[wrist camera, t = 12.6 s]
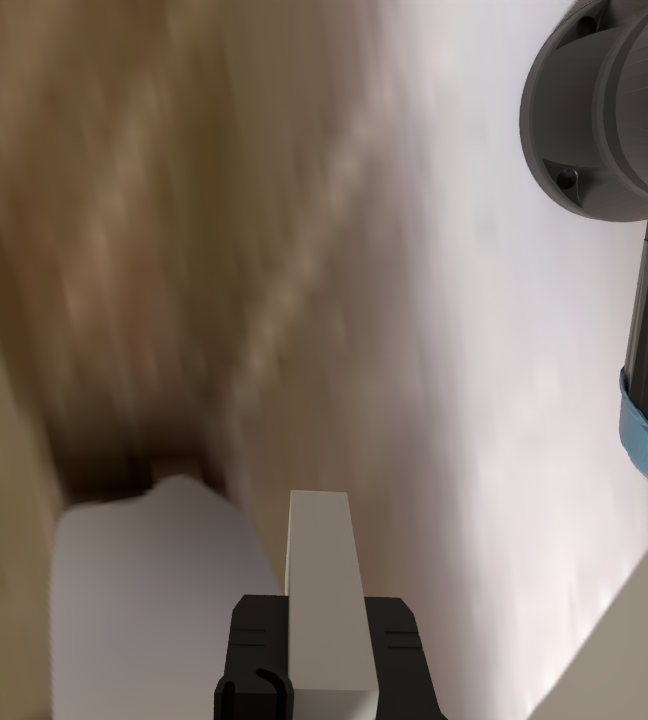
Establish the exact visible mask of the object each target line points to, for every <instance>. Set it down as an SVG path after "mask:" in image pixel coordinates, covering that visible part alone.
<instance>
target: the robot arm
mask: <svg viewBox="0 0 648 720" xmlns="http://www.w3.org/2000/svg"><path fill="white" fill-rule="evenodd" d="M519 127H520V138H521V144H522V149H523V153H524V156H525V159H526V162H527V165H528V167H529V169H530V171H531V173H532V175H533V177H534V178H535V180H536V182H537V183H538V184H539V186H540V187H541V188H542V190H543V191H544V192H545V193H546V194H547V195H548V196H549V197H550V198H551V199H552V200H553V201H555V202H556V203H557V204H559V205H560V206H562V207H563V208H565V209H566V210H568V211H570V212H572V213H575V214H577V215H580V216H583V217H586V218H591V219H596V220H603V221H610V222H634V221H641V220H646V219H648V0H595V1H593V2H592V3H590V4H588V5H586V6H585V7H583V8H581V9H580V10H578V11H577V12H576V13H574V14H573V15H571V16H570V17H569V18H568V19H567V20H566V21H564V22H563V23H562V24H561V25H560V26H559V27H558V28H557V29H556V31H555V32H554V33H553V34H552V35H551V36H550V38H549V39H548V40H547V41H546V43H545V44H544V46H543V47H542V49H541V50H540V52H539V54H538V55H537V57H536V59H535V61H534V63H533V65H532V67H531V69H530V72H529V74H528V77H527V80H526V83H525V86H524V90H523V94H522V99H521V106H520V117H519ZM619 383H620V390H621V393H622V399H621V410H620V420H619V434H620V439H621V443H622V445H623V447H624V448H625V450H626V451H627V452H628V456H629V457H630V459H631V461H632V463H633V464H634V466H635V467H636V468H637V469H638V470H639V471H640V472H641V473H642V474H643V475H644V476H645V477H646V478H647V479H648V222H647V228H646V235H645V239H644V245H643V252H642V258H641V264H640V271H639V277H638V283H637V290H636V296H635V302H634V309H633V315H632V321H631V328H630V334H629V340H628V347H627V353H626V359H625V365H624V366H623V368H622V369H621V372H620V378H619ZM418 633H419V632H418V628H417V625H416V621H415V617H414V614H413V613H412V611H411V610H410V609H409V608H408V607H407V605H406V604H405V603H404V602H403V601H402V599H401V598H389V597H364V596H363V590H362V584H361V578H360V571H359V565H358V559H357V553H356V547H355V541H354V535H353V529H352V523H351V517H350V511H349V505H348V498H347V492H324V491H301V490H291V500H290V515H289V530H288V545H287V560H286V575H285V596H276V595H244V596H243V597H242V598H241V600H240V601H239V602H238V604H237V605H236V606H235V608H234V609H233V612H232V619H231V626H230V634H229V641H228V649H227V656H226V664H225V670H224V676H223V677H222V678H221V679H220V680H219V682H218V684H217V687H216V689H215V692H214V720H448V719H447V718H446V717H445V716H444V715H443V714H442V713H441V711H440V709H439V706H438V702H437V699H436V695H435V691H434V688H433V684H432V680H431V677H430V673H429V669H428V665H427V662H426V658H425V654H424V651H423V647H422V643H421V640H420V636H419V635H418Z"/></svg>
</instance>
